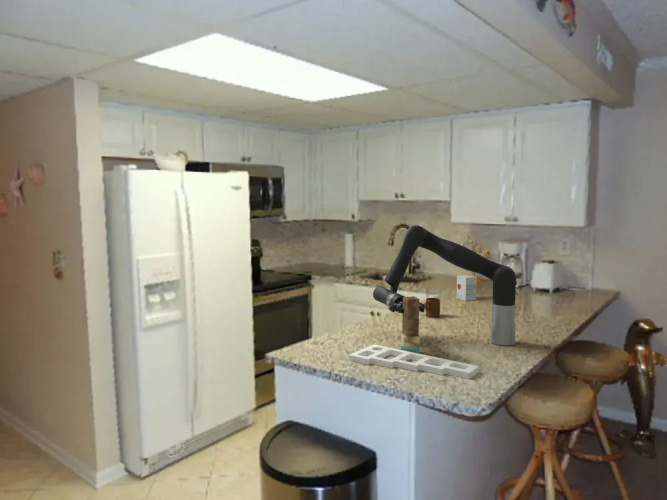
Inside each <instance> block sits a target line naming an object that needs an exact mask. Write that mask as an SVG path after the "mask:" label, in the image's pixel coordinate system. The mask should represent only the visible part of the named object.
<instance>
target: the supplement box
mask: <svg viewBox="0 0 667 500" xmlns="http://www.w3.org/2000/svg"><path fill="white" fill-rule="evenodd" d="M477 283H478V278H477V276H474V275H470V274H466V275H465V274H464V275H457V276H456V300H460V301H463V302H468V301H469V302H470V301H476V300H477Z"/></svg>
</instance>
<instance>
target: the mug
mask: <svg viewBox="0 0 667 500" xmlns="http://www.w3.org/2000/svg"><path fill="white" fill-rule="evenodd" d="M424 304H425V305H424V311H425V316H426V317H428V318H439V317H440V316H441V299H440V298H438V297H427V298H426V299H425V302H424Z"/></svg>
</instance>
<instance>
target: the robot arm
mask: <svg viewBox="0 0 667 500" xmlns="http://www.w3.org/2000/svg"><path fill="white" fill-rule="evenodd" d="M419 247H420V248H422V249H425V250H427V251H430V252H432V253H434V254H436V255H437V256H439V257H440V258H441V259H443V260H445V261H446V262H448V263H450V264H451V265H454V266H456V267H458V268H460V269H463V270H466V271H467V272H468V271H469V272H472V273H476V274H479V275H481V276H483V277H486V278H487V279H489V280H491V281H492V309H491V310H492V316H491V336H490V337H491V343H492V344H495V345H498V346H512V345H513V346H515V345H516V322H515V318H516V317H515V315H516V314H515V313H516V295H517V294H516V291H517V290H516V289H517V275H516V272H515V271H514V269H513V268H511V267H509V266H506V265H505V264H501V263H497V262H495V261H492V260H490V259H488V258H486V257H484V256H483V255H481V254H479V253H477V252H475V251H474V250H472V249H470V248H468V247H466V246H464V245H461V244H460V243H457V242H454V241H451V240H448V239H445V238H441V237H440V236H437V235H436V234H434V233H431V231H429V230H428V229H426V228H425V227H423V226H420V225H416V224H415V225H411V226H409V227H408V228H407V230H406V232H405V236H404V238H403V241H402V244H401V247H400V249H399V252H398V253H397V256H396V257H395V259H394V261H393V263H392V265H391V266H390V268H389V270H388V272H387V274H386V275H385V278H384V281H385V283H387V284H388V286H390V289H389V288H387V287H385V286H382V285H380V286H377V287H376V288H375V289H374V290H373V293H372V297H373V300H375V301H376V302H379V303H381V304H383V305H385V306H387V310H388V311H390V312H392V313H395V312H396V313H397V314H402V315H403V314H404V308H403V297H406V296H405V295H403V294H401V293H398V289H399V286H400V283H401V282H402V280H403V279H404V276H405V274H406V273H407V269H408V267H409V264H410V262H411V260H412V258H413V256H414V254H415V252H416V251H417V250H418V248H419ZM424 305H425V303H423V302H420V301H419V313H424V312H425V308H424Z"/></svg>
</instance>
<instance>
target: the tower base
mask: <svg viewBox="0 0 667 500" xmlns="http://www.w3.org/2000/svg"><path fill="white" fill-rule="evenodd" d="M420 347H421V345H420V346H409V347H404V346H403V345H402V343H401V344H400V346H399V350H404V351H408V352H413V353H418V354H420V350H421V349H420Z"/></svg>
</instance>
